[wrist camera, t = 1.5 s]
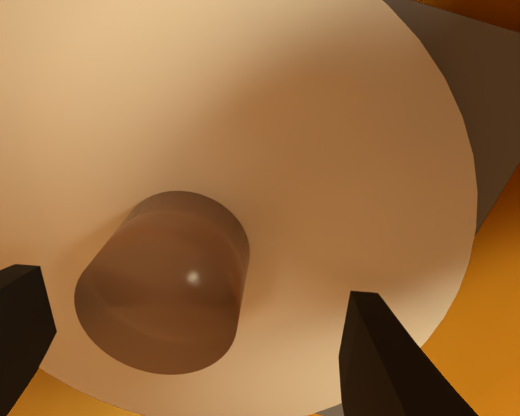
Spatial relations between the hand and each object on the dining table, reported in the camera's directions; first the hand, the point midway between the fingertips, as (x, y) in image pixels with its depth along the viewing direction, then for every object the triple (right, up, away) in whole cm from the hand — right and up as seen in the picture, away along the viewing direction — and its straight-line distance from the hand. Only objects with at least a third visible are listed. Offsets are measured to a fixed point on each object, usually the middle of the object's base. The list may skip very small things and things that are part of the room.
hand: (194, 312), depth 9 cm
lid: (-1, +1, +4) cm, 4 cm away
